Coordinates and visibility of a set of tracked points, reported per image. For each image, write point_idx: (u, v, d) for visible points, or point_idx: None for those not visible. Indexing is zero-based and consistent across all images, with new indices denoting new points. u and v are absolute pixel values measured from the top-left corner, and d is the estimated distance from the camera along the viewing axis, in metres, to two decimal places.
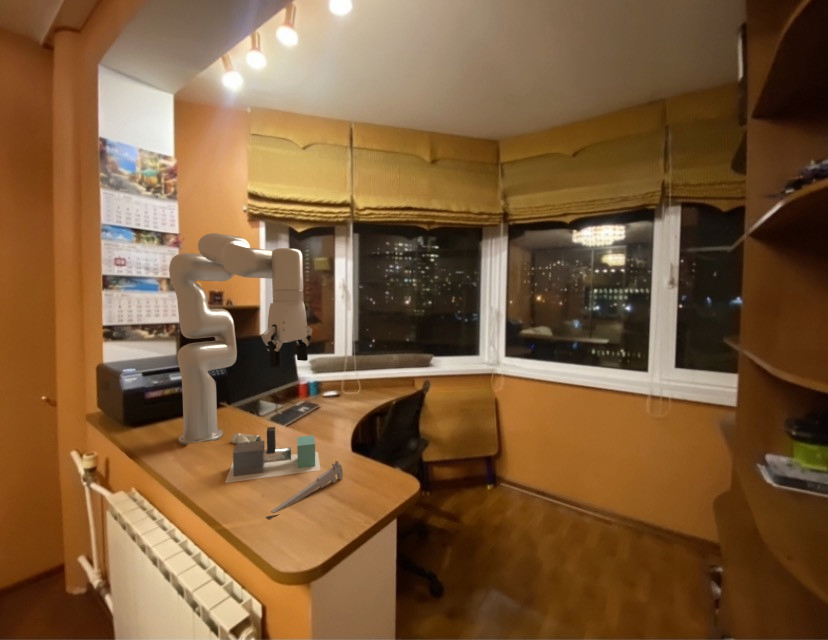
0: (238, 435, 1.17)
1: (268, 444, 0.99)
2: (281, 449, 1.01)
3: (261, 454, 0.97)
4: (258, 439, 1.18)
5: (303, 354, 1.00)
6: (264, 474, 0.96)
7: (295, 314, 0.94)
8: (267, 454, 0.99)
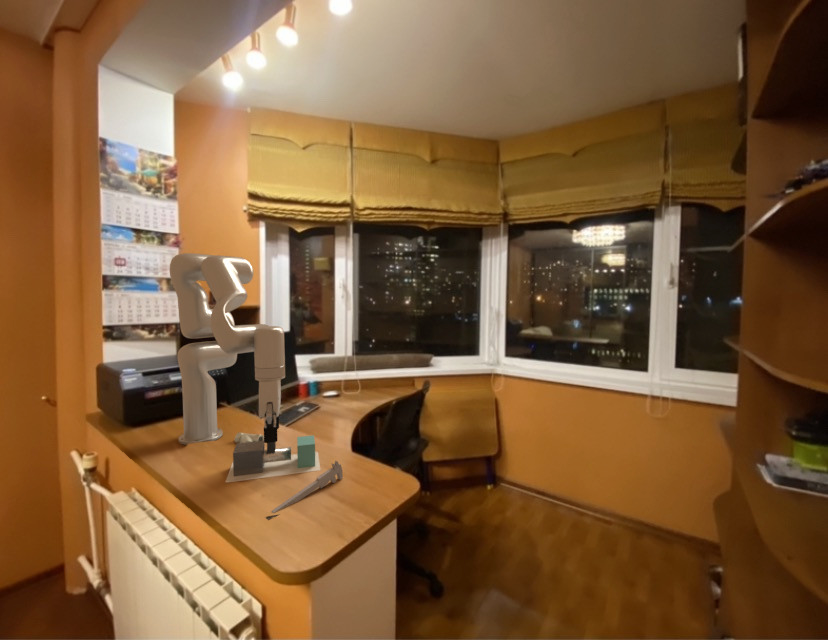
0: (241, 434, 1.17)
1: (268, 444, 0.99)
2: (281, 449, 1.01)
3: (261, 454, 0.97)
4: (260, 438, 1.18)
5: (275, 423, 1.05)
6: (264, 474, 0.96)
7: (280, 388, 1.00)
8: (267, 454, 0.99)
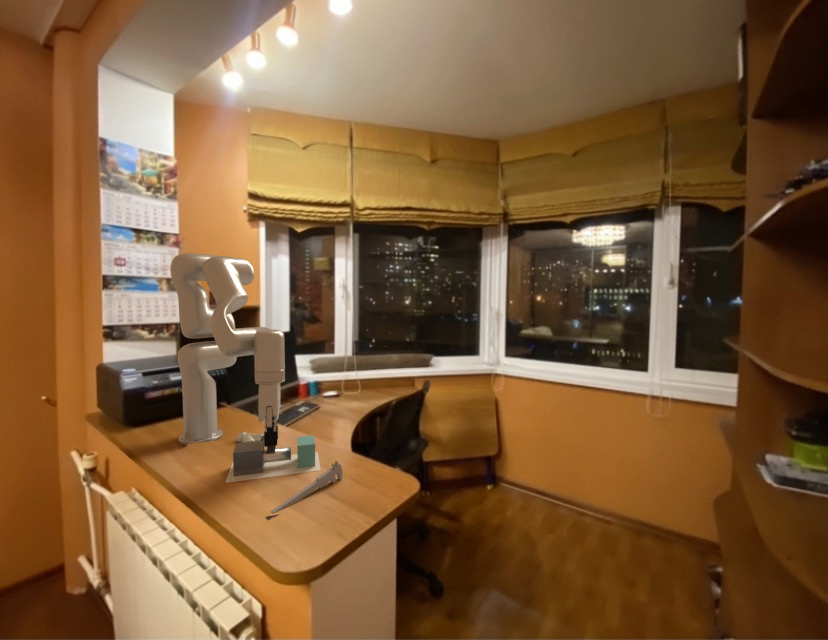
0: (243, 434, 1.18)
1: None
2: (281, 449, 1.01)
3: (261, 454, 0.97)
4: (263, 438, 1.19)
5: None
6: (264, 474, 0.96)
7: None
8: (267, 454, 0.99)
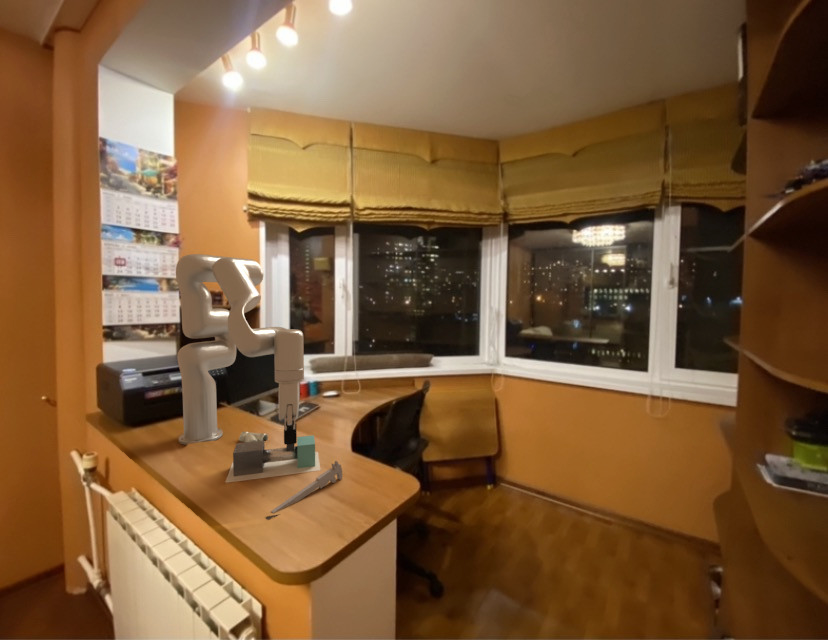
0: (245, 433, 1.18)
1: None
2: None
3: (261, 454, 0.97)
4: (265, 437, 1.19)
5: None
6: (264, 474, 0.96)
7: None
8: (286, 452, 1.01)
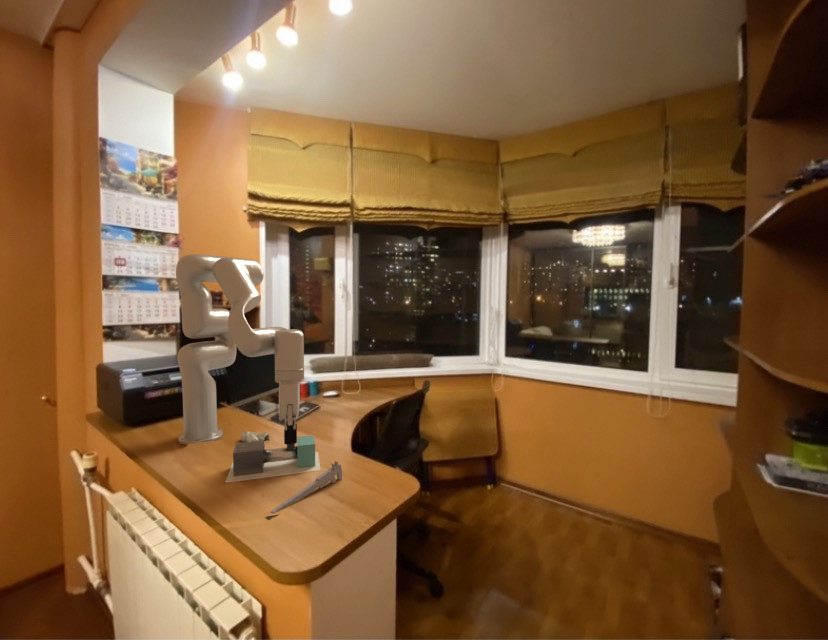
0: (247, 433, 1.18)
1: None
2: None
3: (261, 454, 0.97)
4: (266, 437, 1.19)
5: None
6: (264, 474, 0.96)
7: None
8: (287, 452, 1.01)
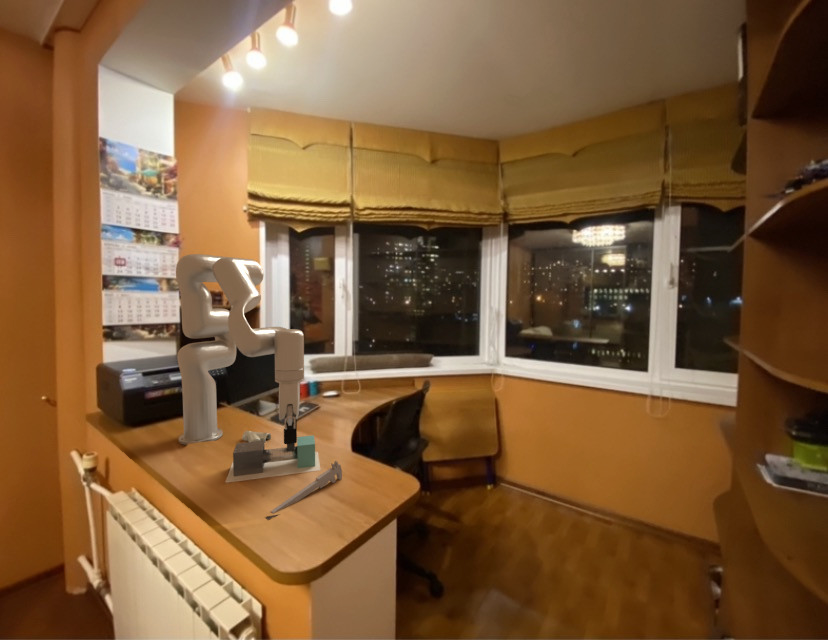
0: (248, 433, 1.19)
1: None
2: None
3: (261, 454, 0.97)
4: (268, 437, 1.20)
5: None
6: (264, 474, 0.96)
7: None
8: (287, 452, 1.01)
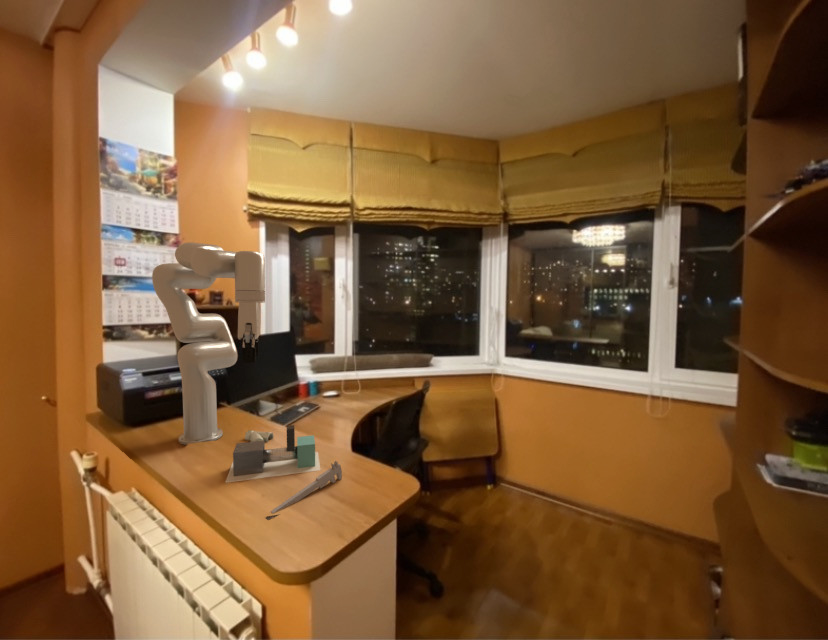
0: (251, 432, 1.19)
1: (288, 442, 1.00)
2: None
3: (261, 454, 0.97)
4: (270, 436, 1.20)
5: (255, 350, 1.07)
6: (264, 474, 0.96)
7: (260, 313, 1.02)
8: (287, 452, 1.01)
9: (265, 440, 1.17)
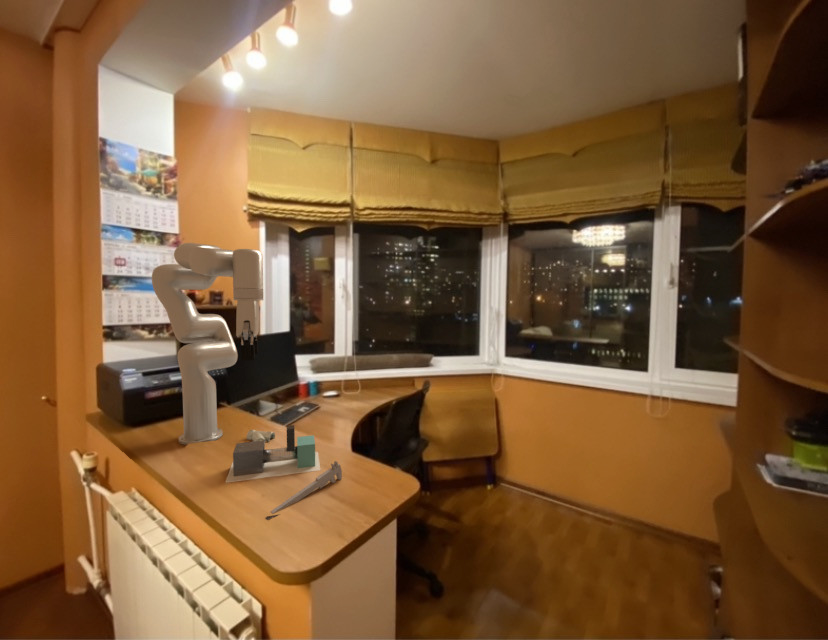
0: (253, 432, 1.20)
1: (288, 442, 1.00)
2: None
3: (261, 454, 0.97)
4: (272, 436, 1.21)
5: (254, 348, 1.07)
6: (264, 474, 0.96)
7: (258, 310, 1.02)
8: (287, 452, 1.01)
9: (267, 440, 1.18)
